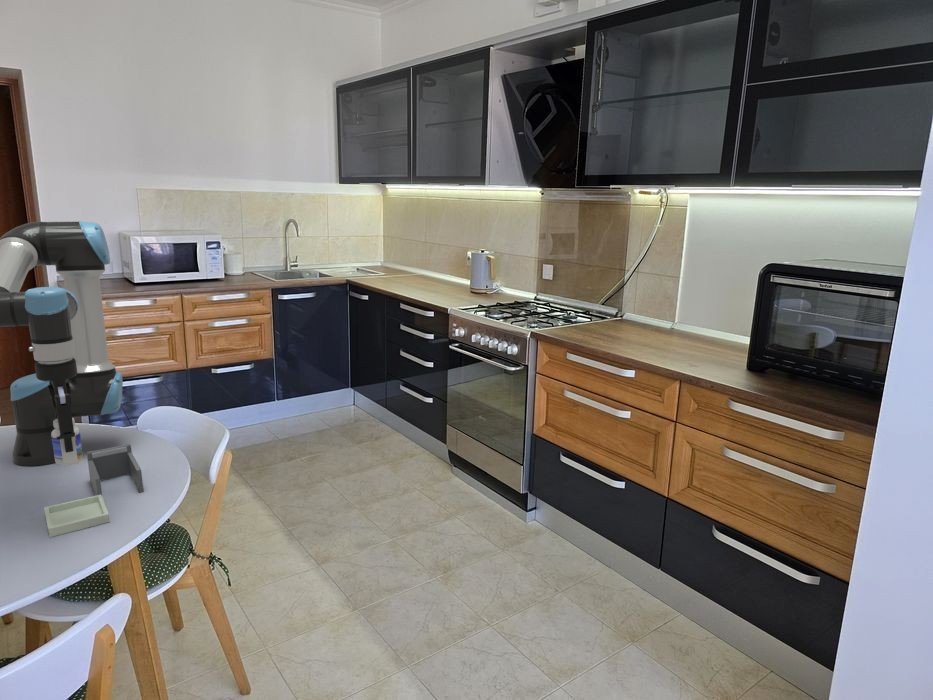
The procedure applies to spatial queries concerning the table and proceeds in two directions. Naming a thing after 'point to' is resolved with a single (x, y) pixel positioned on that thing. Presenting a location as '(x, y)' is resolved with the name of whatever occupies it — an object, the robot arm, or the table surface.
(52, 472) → the table surface
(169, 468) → the table surface
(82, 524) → the tray
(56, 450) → the pill bottle
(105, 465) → the bay
